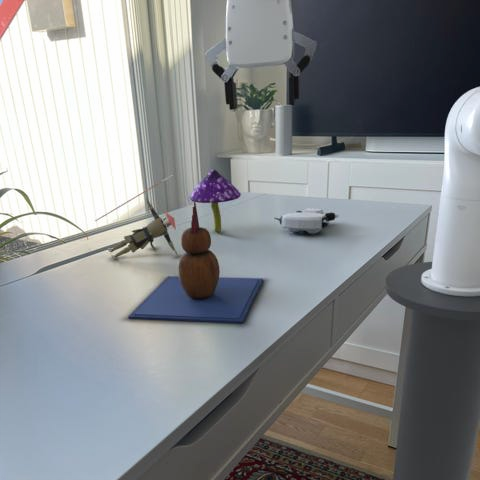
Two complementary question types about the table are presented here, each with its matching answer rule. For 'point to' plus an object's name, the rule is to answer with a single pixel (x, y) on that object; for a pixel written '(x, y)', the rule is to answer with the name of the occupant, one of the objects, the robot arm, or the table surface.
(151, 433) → the table surface
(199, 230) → the wooden figurine
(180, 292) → the blue square tray
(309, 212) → the robot toy
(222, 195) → the decorative mushroom
